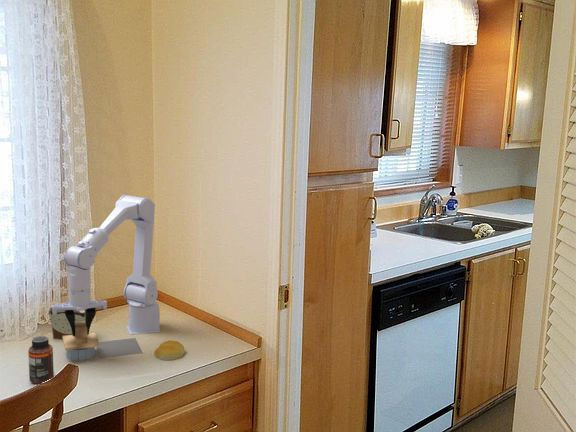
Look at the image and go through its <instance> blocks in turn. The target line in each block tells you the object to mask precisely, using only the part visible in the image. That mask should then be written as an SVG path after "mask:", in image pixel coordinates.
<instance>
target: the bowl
mask: <svg viewBox="0 0 576 432" xmlns="http://www.w3.org/2000/svg"><path fill="white" fill-rule="evenodd" d="M65 351H66V352H65V355H66V359H68V360H70V361H75V362H76V361H77V362H79V361H85V360H86V361H87V360H89V359H92V358H93V357H95V355H96V352H95V351H96V347H91V348H82V349H73V350H65Z"/></svg>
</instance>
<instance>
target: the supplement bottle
mask: <svg viewBox="0 0 576 432" xmlns="http://www.w3.org/2000/svg"><path fill="white" fill-rule="evenodd" d="M49 341H50V340H49V337H48V336H44V335H41V336H36V337H33V338H32V339H31V346H30V347H29V348H28V351H27V353H28V354H27V355H28V375H29V381H30V382H31V384H32V383H33V384H38V385H39V383H41V384H43V383H42V382H45V381H47V380H49V379H51V378H52V377H53V378H54V376H55V375H54V374H55V371H54V351H53V350H54V349H53V348H54V347H53V346H52V345H51V344H50V343H49Z"/></svg>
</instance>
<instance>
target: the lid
mask: <svg viewBox="0 0 576 432" xmlns="http://www.w3.org/2000/svg"><path fill="white" fill-rule="evenodd" d="M62 342H63V346H64V351H66V350H73V349H82V348H91V347H95V348H97V347H99V342H100V341H99V340H98V337H97V335H96V332H89V335H87V326H86V323H85V321H77V322H75V336H73V335H67V336H63V340H62Z"/></svg>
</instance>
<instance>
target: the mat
mask: <svg viewBox="0 0 576 432" xmlns="http://www.w3.org/2000/svg"><path fill="white" fill-rule="evenodd" d="M98 342H99V347H96V350H97V352H98V355H99V357H100V359H105V358H106V359H107V358H114V357H115V358H116V357H121V356H122V357H123V356H128V355H129V356H130V355H139V354H144V352H143V350H142V349H141V346H140V345H139V342H138V340H137V339H136V337H133V338H124V339H116V340H115V339H114V340H106V341H98Z"/></svg>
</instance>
